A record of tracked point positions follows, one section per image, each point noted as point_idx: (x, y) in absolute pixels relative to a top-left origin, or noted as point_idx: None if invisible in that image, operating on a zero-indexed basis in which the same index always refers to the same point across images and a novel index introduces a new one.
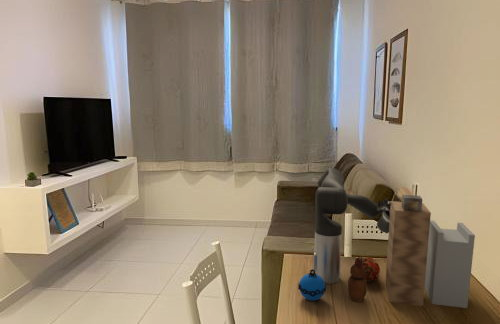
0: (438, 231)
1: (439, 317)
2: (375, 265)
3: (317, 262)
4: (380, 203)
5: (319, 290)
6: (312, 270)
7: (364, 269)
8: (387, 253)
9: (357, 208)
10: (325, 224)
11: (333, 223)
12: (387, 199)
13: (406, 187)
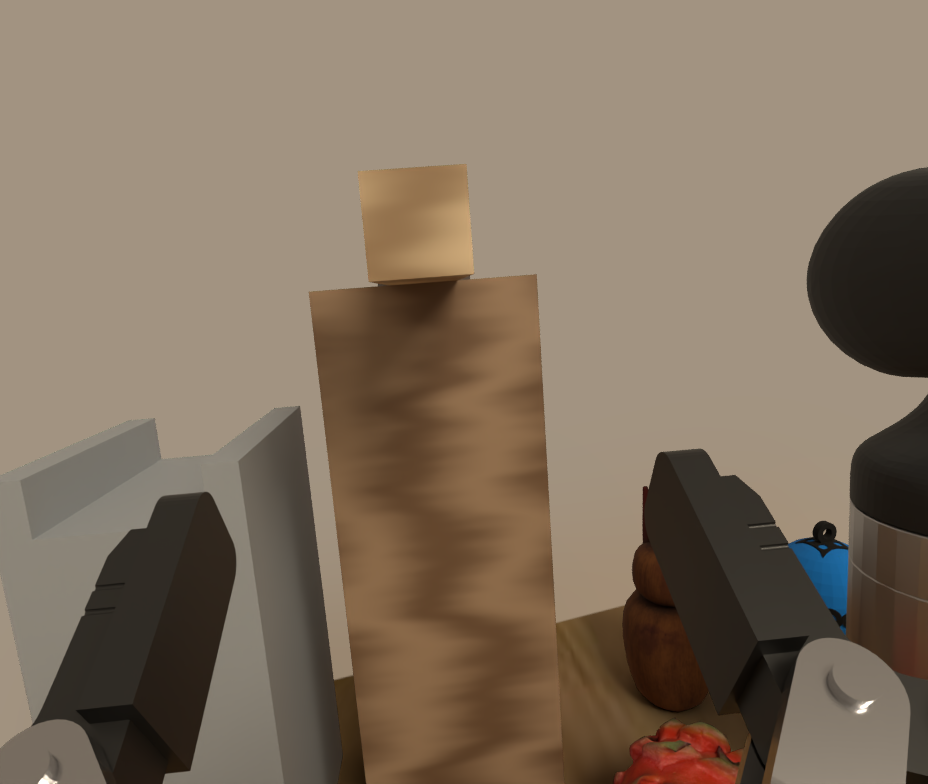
0: (292, 409)
1: (350, 683)
2: (640, 768)
3: None
4: (917, 701)
5: None
6: (822, 522)
7: (635, 554)
8: (556, 648)
9: None
10: (915, 409)
11: (913, 434)
12: (661, 455)
13: (373, 171)
